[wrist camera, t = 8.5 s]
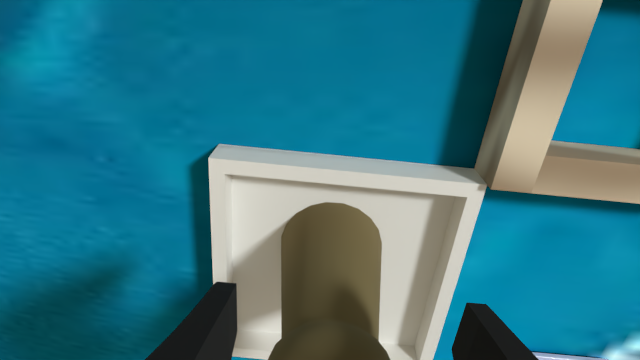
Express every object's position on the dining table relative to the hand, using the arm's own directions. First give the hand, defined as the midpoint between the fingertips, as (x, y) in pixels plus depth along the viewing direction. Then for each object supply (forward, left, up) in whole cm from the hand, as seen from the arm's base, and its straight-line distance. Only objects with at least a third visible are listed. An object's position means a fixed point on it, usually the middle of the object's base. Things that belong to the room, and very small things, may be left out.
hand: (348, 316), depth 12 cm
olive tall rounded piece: (-5, 0, -10) cm, 11 cm away
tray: (-6, 0, -11) cm, 12 cm away
